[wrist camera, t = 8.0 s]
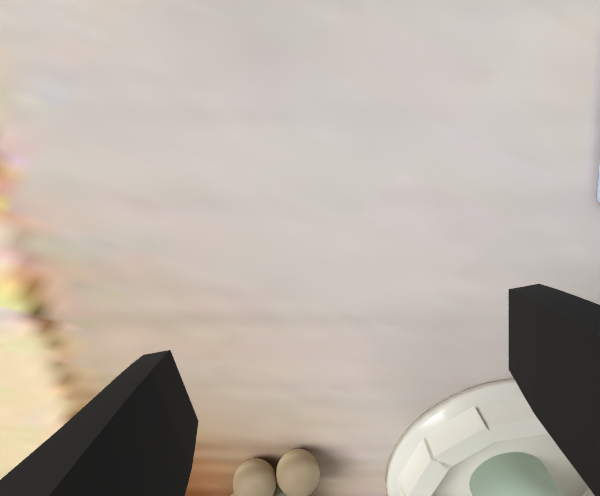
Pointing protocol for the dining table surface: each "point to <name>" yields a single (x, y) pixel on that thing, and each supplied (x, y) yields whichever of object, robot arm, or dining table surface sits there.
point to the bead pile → (278, 476)
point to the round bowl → (474, 443)
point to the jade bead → (513, 477)
